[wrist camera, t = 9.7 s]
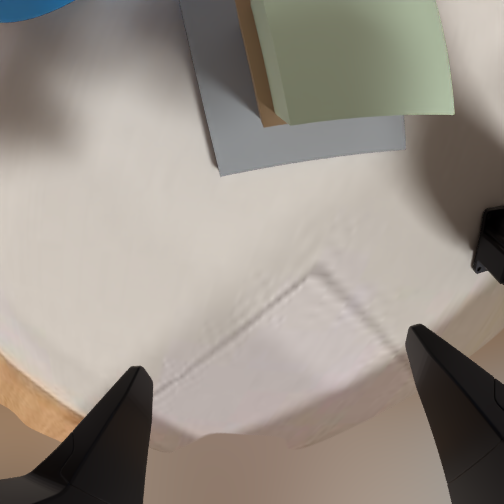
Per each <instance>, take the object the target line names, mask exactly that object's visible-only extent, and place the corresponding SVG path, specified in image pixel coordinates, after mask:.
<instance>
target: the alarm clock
mask: <svg viewBox="0 0 504 504" xmlns="http://www.w3.org/2000/svg"><path fill="white" fill-rule="evenodd" d="M73 1H75V0H0V23H9V22H18V21H24V20H28V19H32V18H35V17H38V16H42V15H44V14H47V13H50V12H52V11H54V10H57V9H59V8H61V7H63V6H65V5H67V4H69V3H71V2H73Z"/></svg>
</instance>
